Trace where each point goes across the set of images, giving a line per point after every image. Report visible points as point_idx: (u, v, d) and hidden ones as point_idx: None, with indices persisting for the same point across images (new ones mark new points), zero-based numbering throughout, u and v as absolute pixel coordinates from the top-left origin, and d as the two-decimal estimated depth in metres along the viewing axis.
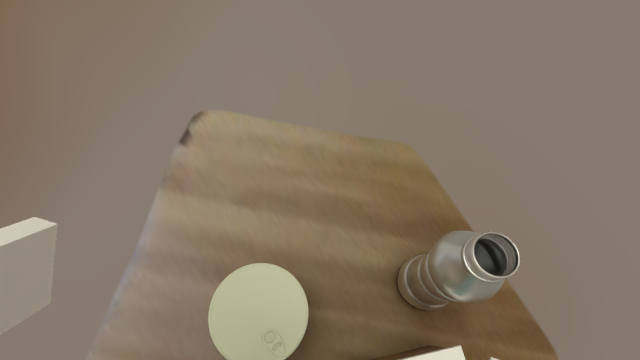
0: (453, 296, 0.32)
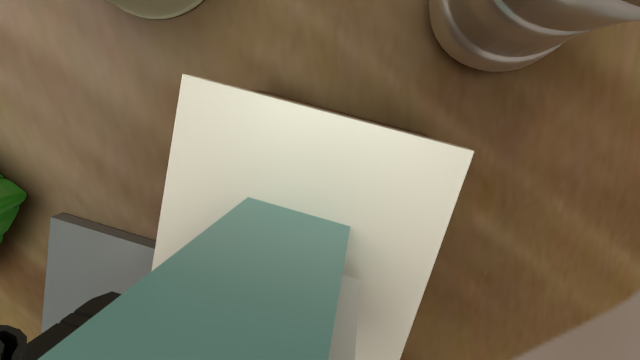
0: None
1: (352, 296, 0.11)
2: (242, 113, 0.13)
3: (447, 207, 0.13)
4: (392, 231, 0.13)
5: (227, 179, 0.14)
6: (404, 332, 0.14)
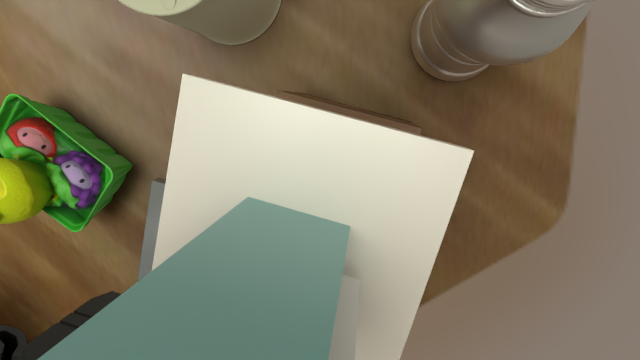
0: (448, 30, 0.17)
1: (352, 296, 0.11)
2: (242, 113, 0.13)
3: (447, 207, 0.13)
4: (392, 231, 0.13)
5: (227, 179, 0.14)
6: (404, 332, 0.14)
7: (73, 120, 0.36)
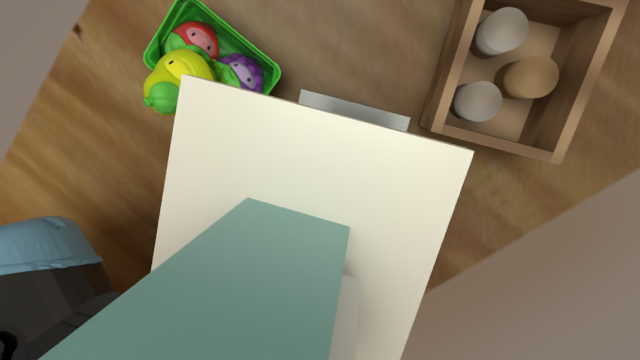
0: None
1: (352, 296, 0.11)
2: (242, 113, 0.13)
3: (447, 207, 0.13)
4: (392, 231, 0.13)
5: (227, 179, 0.14)
6: (404, 333, 0.14)
7: None
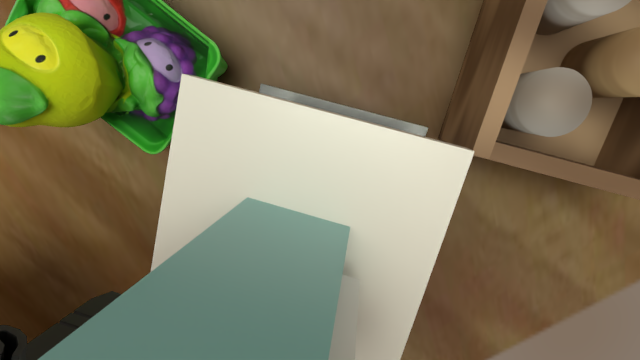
0: None
1: (352, 296, 0.11)
2: (242, 113, 0.13)
3: (447, 207, 0.13)
4: (392, 231, 0.13)
5: (227, 179, 0.14)
6: (404, 333, 0.14)
7: None
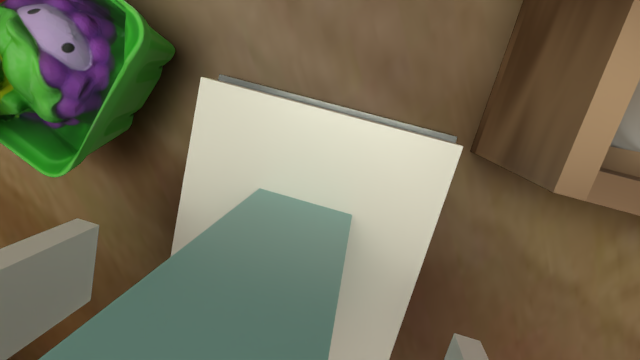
0: None
1: None
2: (255, 112, 0.15)
3: (439, 197, 0.14)
4: (390, 219, 0.15)
5: (241, 172, 0.15)
6: (401, 311, 0.16)
7: None
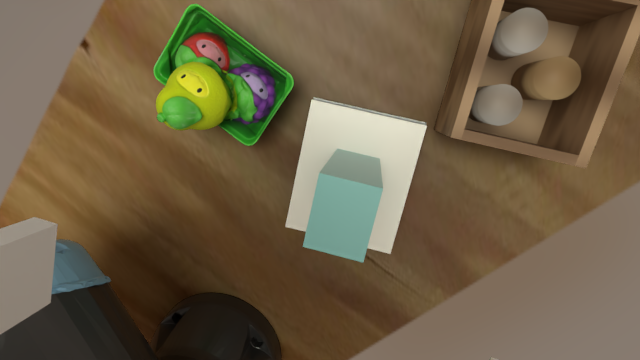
0: None
1: None
2: (335, 114, 0.34)
3: (417, 148, 0.33)
4: (396, 159, 0.34)
5: (328, 141, 0.34)
6: (403, 202, 0.35)
7: None
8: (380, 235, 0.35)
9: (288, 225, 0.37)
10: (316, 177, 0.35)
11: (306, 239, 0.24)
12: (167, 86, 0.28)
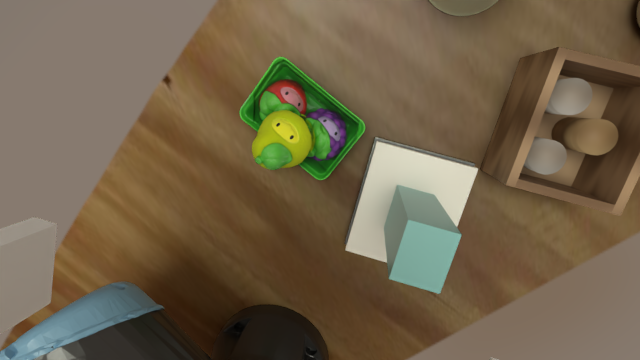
0: None
1: None
2: (397, 155, 0.38)
3: (469, 187, 0.38)
4: (449, 196, 0.39)
5: (390, 178, 0.39)
6: None
7: None
8: None
9: (348, 249, 0.41)
10: (376, 208, 0.40)
11: (392, 273, 0.28)
12: (264, 133, 0.33)
